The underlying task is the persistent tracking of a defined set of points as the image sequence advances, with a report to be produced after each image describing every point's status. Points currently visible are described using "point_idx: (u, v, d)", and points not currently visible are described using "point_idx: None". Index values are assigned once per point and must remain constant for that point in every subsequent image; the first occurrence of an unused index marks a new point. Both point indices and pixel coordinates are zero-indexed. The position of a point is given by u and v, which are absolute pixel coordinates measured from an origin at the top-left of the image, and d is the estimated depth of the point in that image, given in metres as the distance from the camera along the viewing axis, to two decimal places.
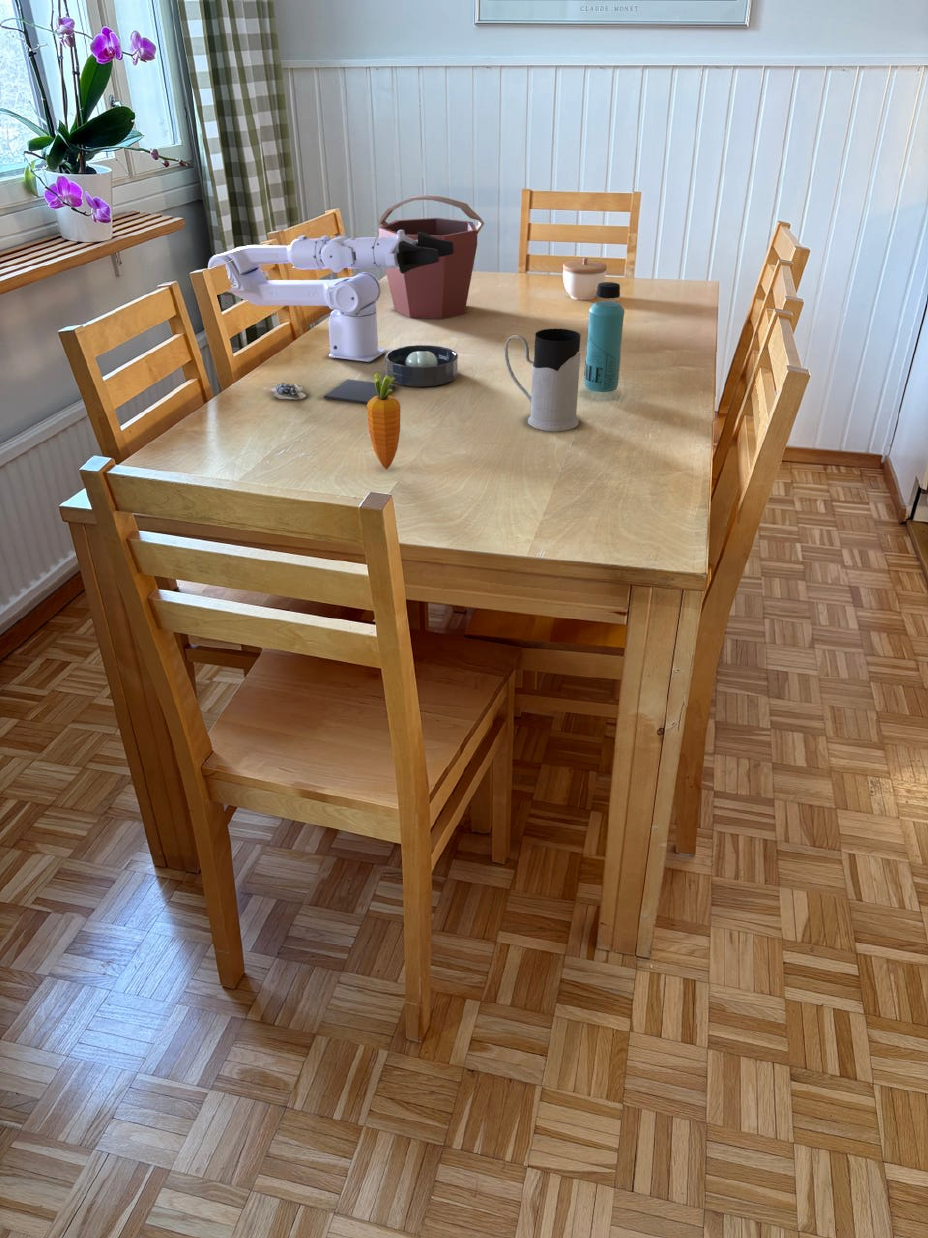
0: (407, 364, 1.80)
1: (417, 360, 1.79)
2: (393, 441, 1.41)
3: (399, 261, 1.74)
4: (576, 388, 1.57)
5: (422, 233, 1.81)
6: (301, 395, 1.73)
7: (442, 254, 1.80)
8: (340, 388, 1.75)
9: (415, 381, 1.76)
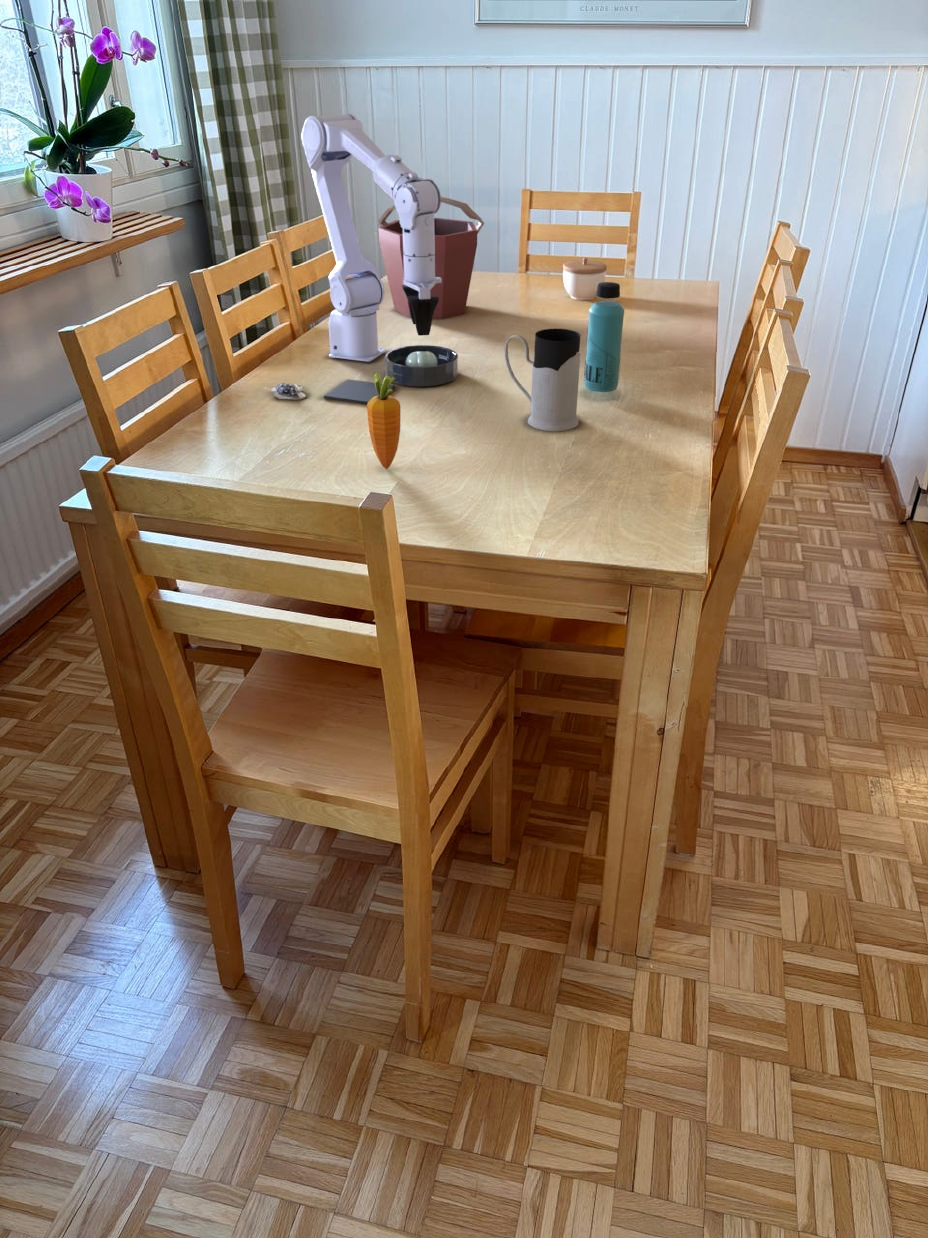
0: (407, 364, 1.80)
1: (417, 360, 1.79)
2: (393, 441, 1.41)
3: (421, 299, 1.68)
4: (576, 388, 1.57)
5: None
6: (301, 395, 1.73)
7: (412, 312, 1.79)
8: (340, 388, 1.75)
9: (415, 381, 1.76)
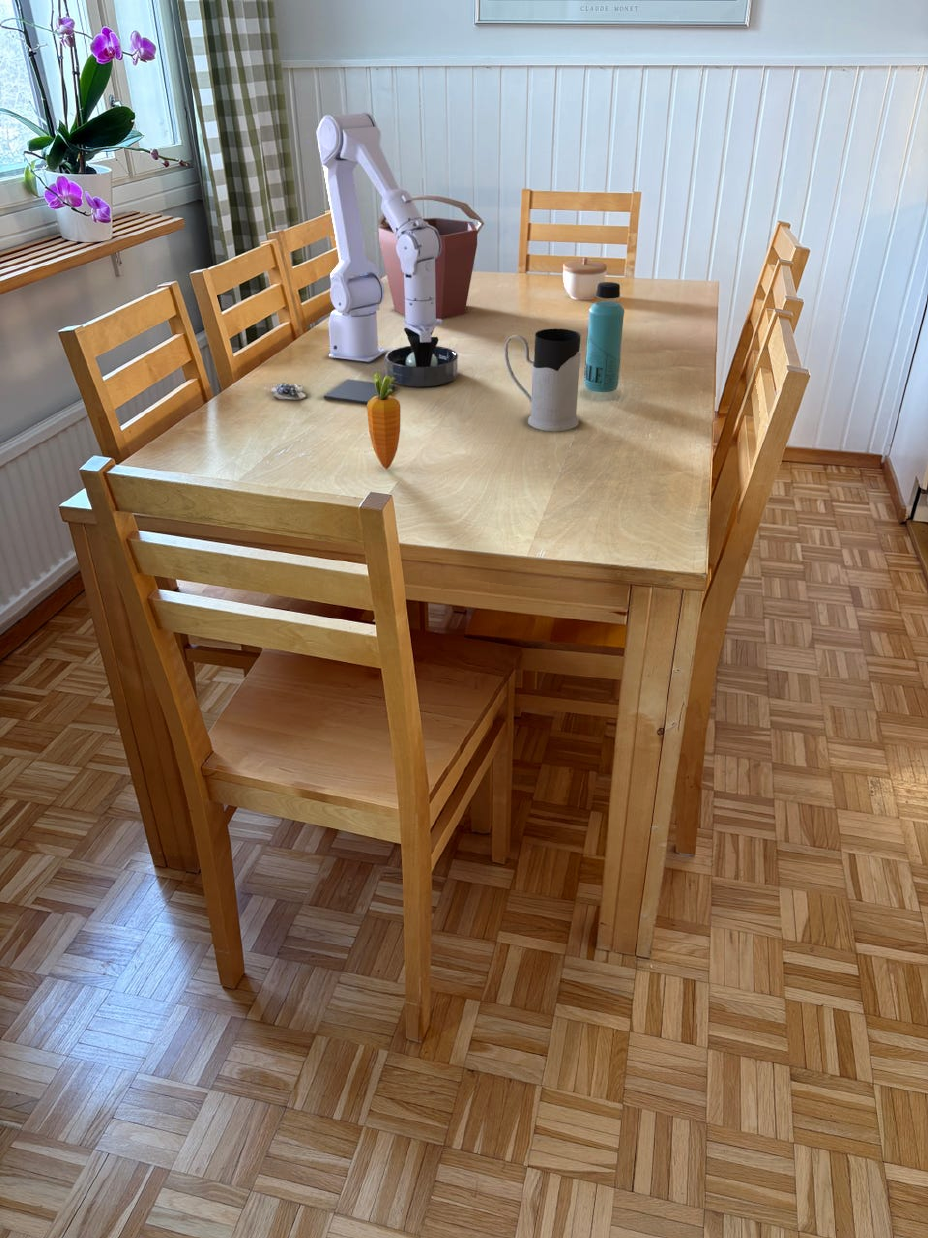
0: (407, 364, 1.80)
1: None
2: (393, 441, 1.41)
3: None
4: (576, 388, 1.57)
5: None
6: (301, 395, 1.73)
7: None
8: (340, 388, 1.75)
9: (415, 381, 1.76)
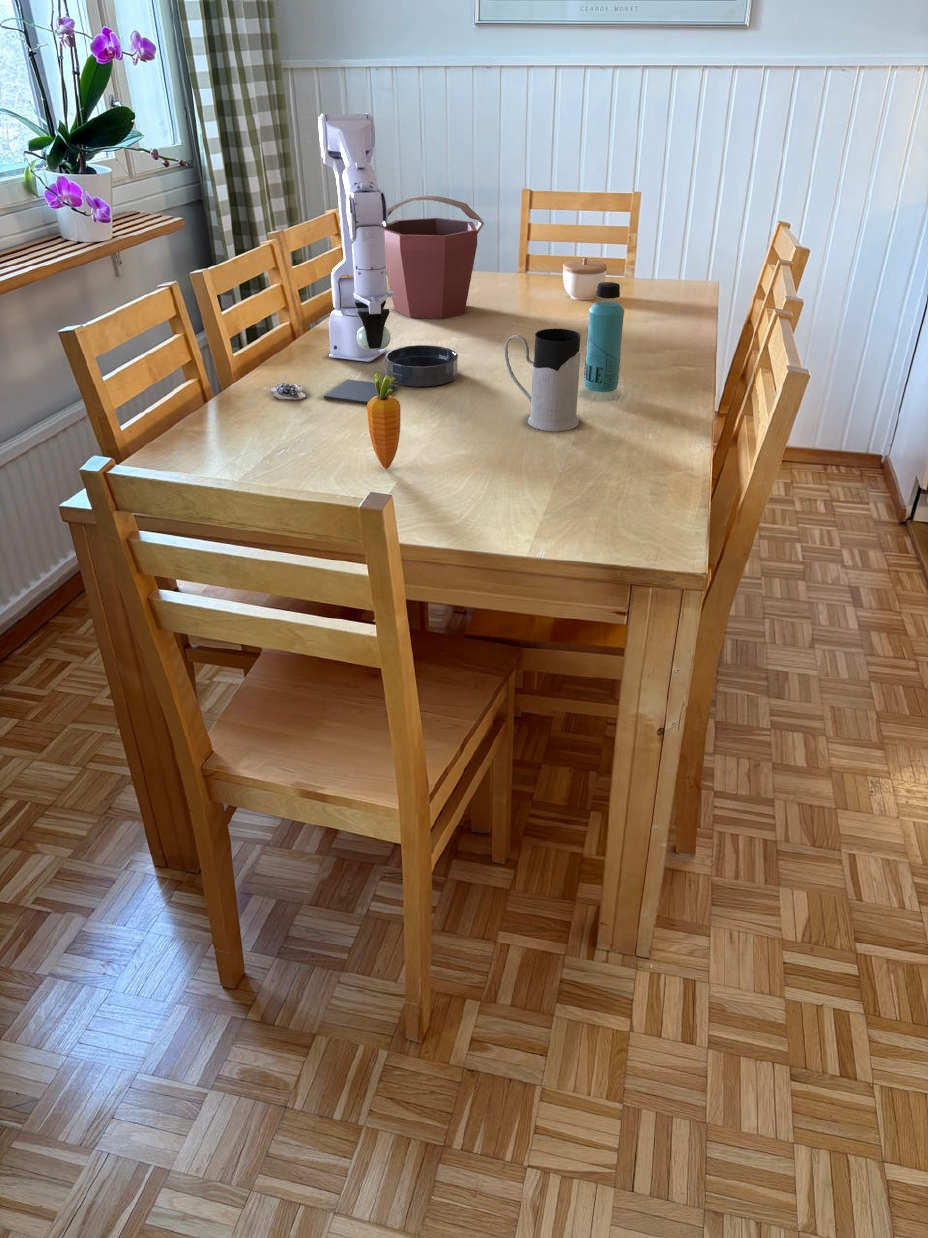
0: (358, 338, 1.69)
1: None
2: (393, 441, 1.41)
3: None
4: (576, 388, 1.57)
5: None
6: (301, 395, 1.73)
7: None
8: (340, 388, 1.75)
9: (415, 381, 1.76)
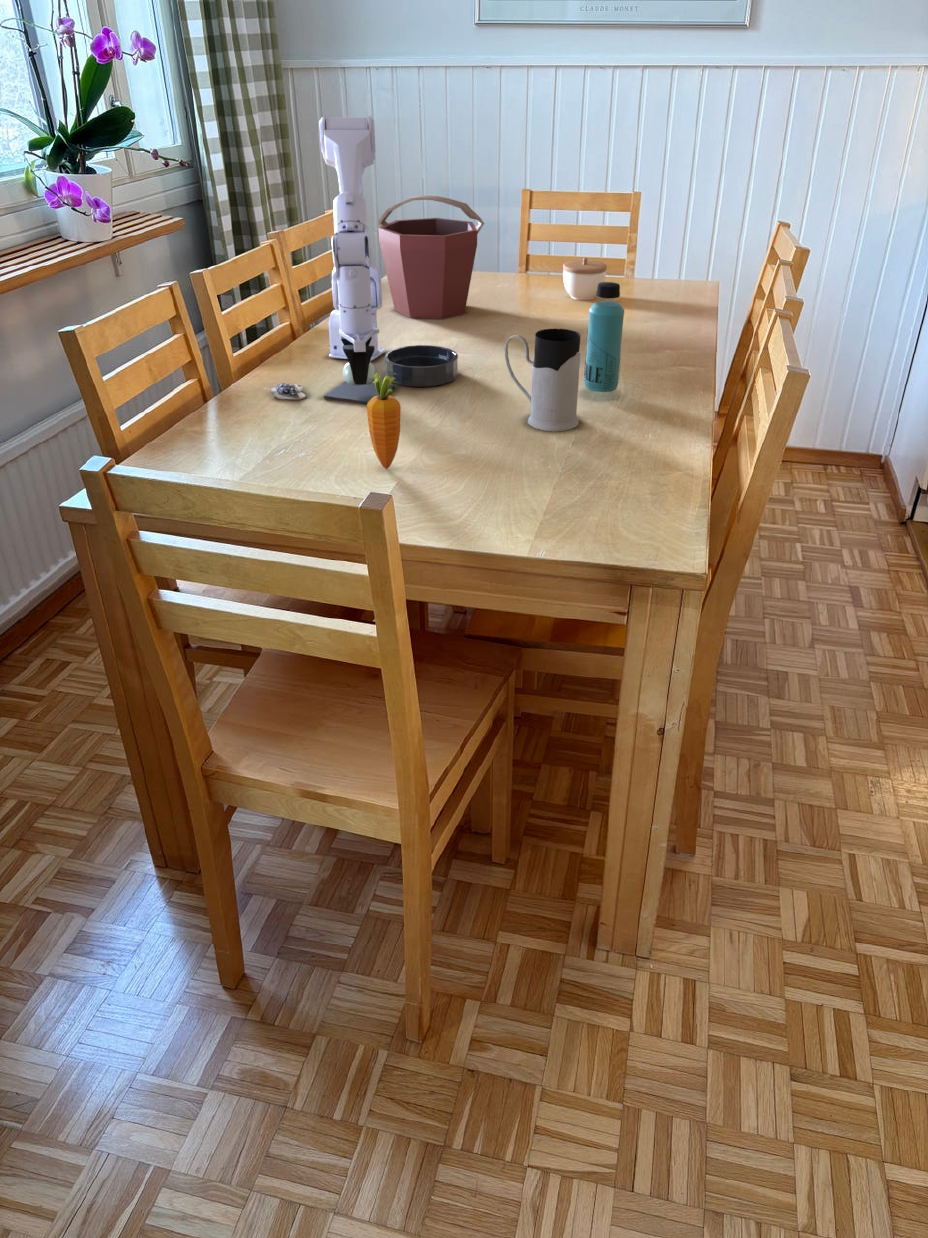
0: (344, 374, 1.71)
1: None
2: (393, 441, 1.41)
3: None
4: (576, 388, 1.57)
5: None
6: (301, 395, 1.73)
7: None
8: (340, 388, 1.75)
9: (415, 381, 1.76)
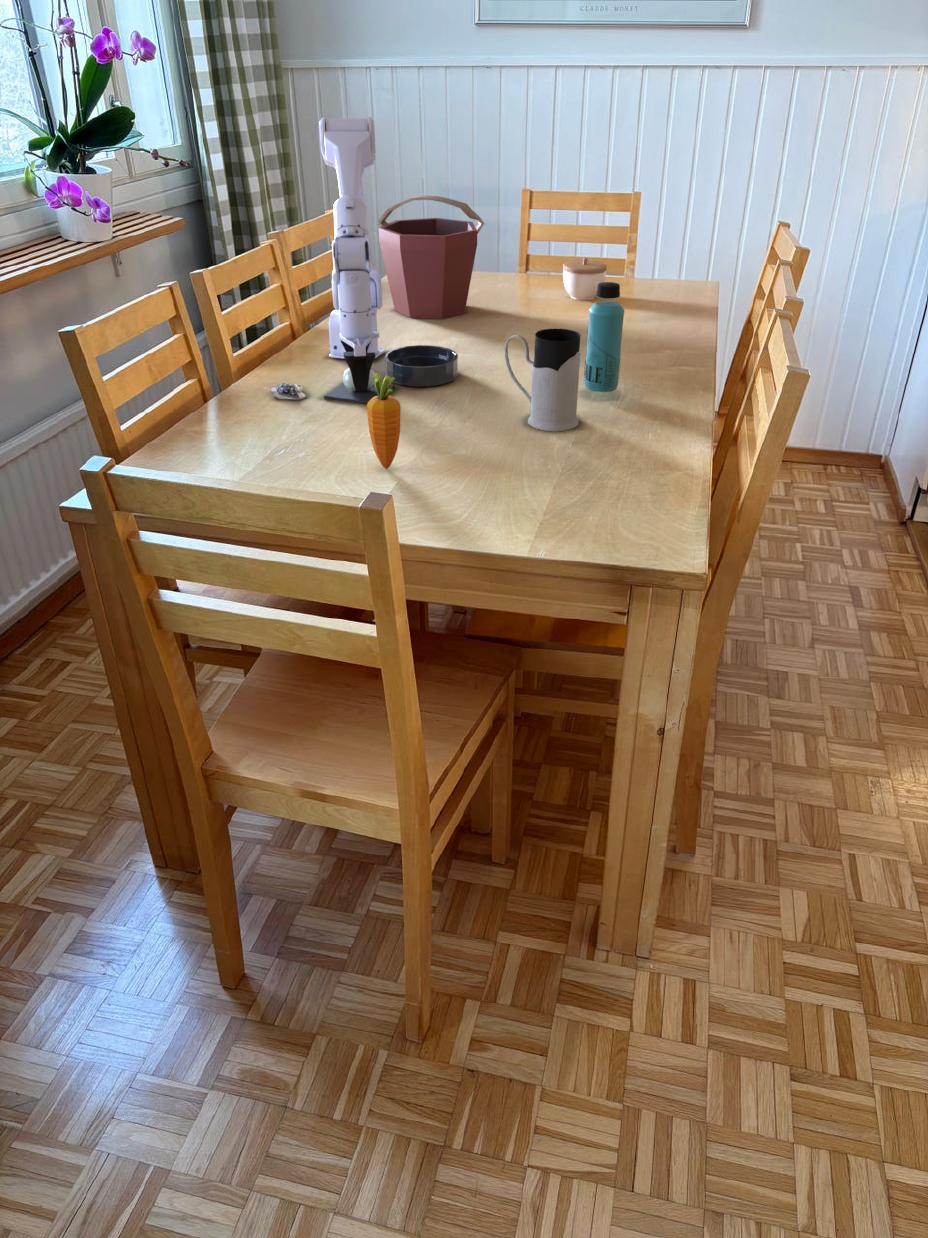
0: (344, 380, 1.71)
1: None
2: (393, 441, 1.41)
3: (357, 356, 1.64)
4: (576, 388, 1.57)
5: None
6: (301, 395, 1.73)
7: None
8: (340, 388, 1.75)
9: (415, 381, 1.76)
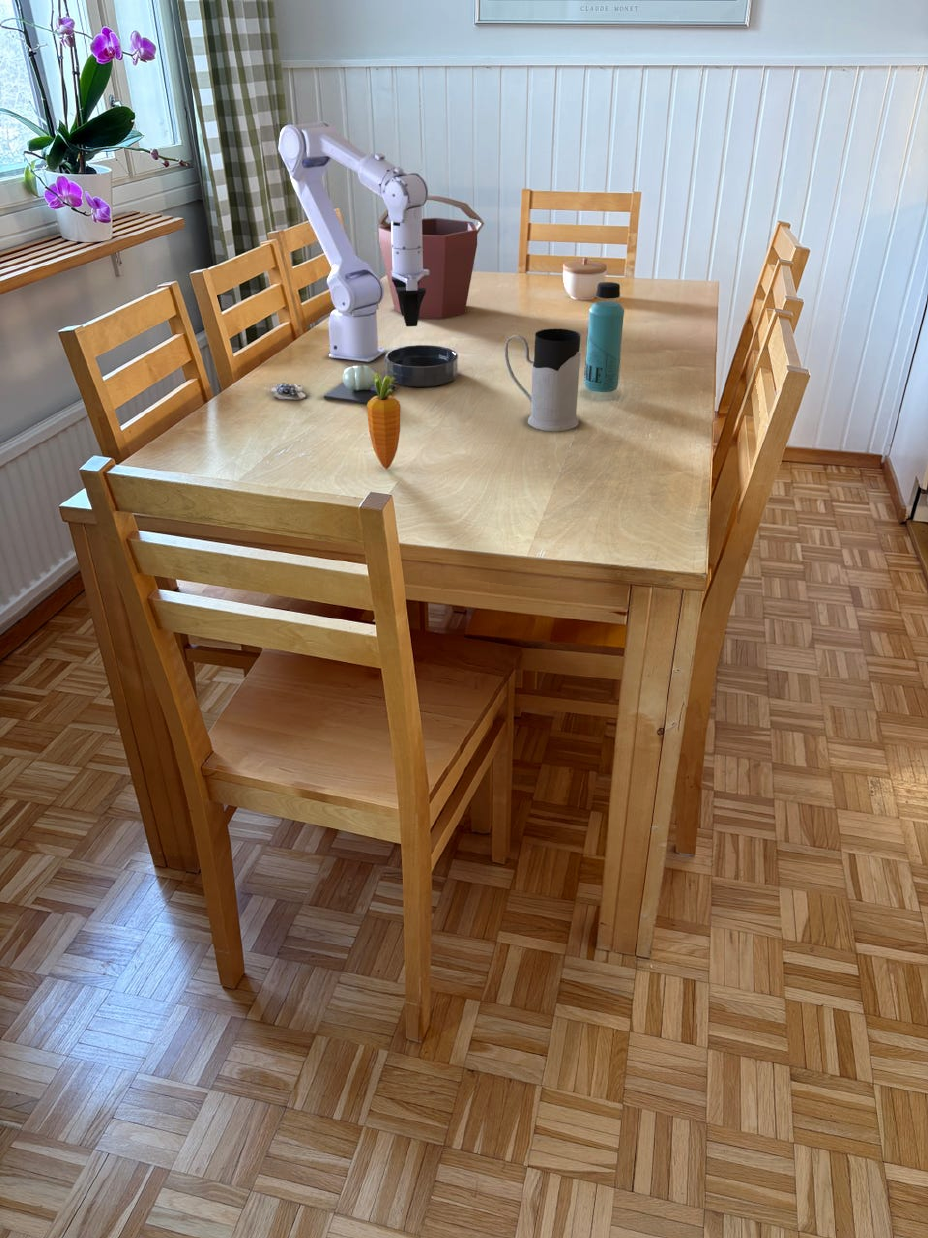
0: (344, 378, 1.72)
1: (354, 373, 1.71)
2: (393, 441, 1.41)
3: (409, 291, 1.73)
4: (576, 388, 1.57)
5: None
6: (301, 395, 1.73)
7: (401, 304, 1.83)
8: (340, 388, 1.75)
9: (415, 381, 1.76)
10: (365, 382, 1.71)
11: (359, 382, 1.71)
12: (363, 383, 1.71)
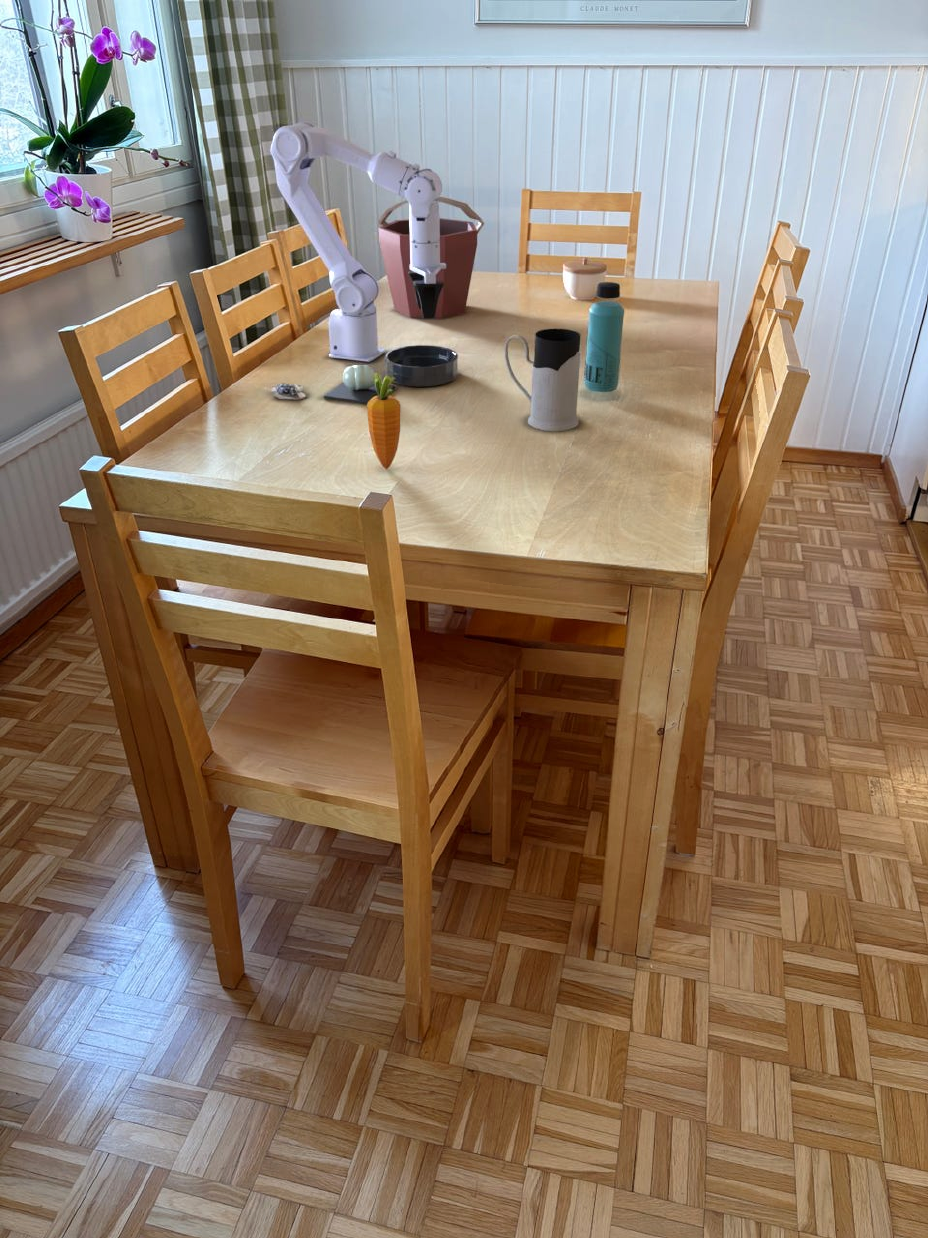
0: (344, 377, 1.72)
1: (353, 371, 1.71)
2: (393, 441, 1.41)
3: (427, 284, 1.77)
4: (576, 388, 1.57)
5: None
6: (301, 395, 1.73)
7: (418, 297, 1.88)
8: (340, 388, 1.75)
9: (415, 381, 1.76)
10: (365, 379, 1.72)
11: (359, 380, 1.71)
12: (363, 381, 1.72)
